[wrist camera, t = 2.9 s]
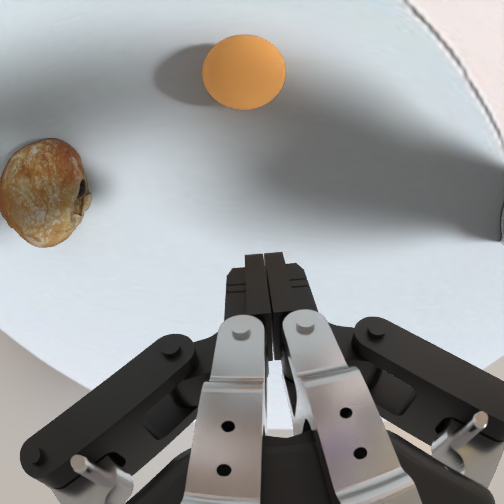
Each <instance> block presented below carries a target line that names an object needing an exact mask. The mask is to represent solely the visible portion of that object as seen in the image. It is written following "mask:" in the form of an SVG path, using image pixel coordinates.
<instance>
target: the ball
mask: <svg viewBox="0 0 504 504" xmlns="http://www.w3.org/2000/svg"><path fill="white" fill-rule="evenodd" d="M202 77H203V82H204V85H205V87H206V89H207V91H208V92H209V94H210V95H211V96H212V97H213V98H214V99H215V100H216V101H217V102H219V103H220V104H222V105H224V106H226V107H229V108H232V109H237V110H250V109H255V108H259V107H261V106H263V105H265V104H267V103H269V102H270V101H271V100H273V99H274V98H275V97H276V96H277V95H278V93H279V92H280V90H281V89H282V87H283V85H284V82H285V77H286V67H285V62H284V59H283V57H282V55H281V54H280V52H279V51H278V49H277V48H276V47H275V46H274V45H273V44H271V43H270V42H268V41H267V40H265V39H263V38H260V37H257V36H253V35H235V36H232V37H228V38H226V39H224V40H222V41H220V42H219V43H217V44H216V45H215V46H214V47H213V48H212V49H211V50H210V51H209V53H208V54H207V56H206V58H205V60H204V63H203V68H202Z"/></svg>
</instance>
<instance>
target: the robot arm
mask: <svg viewBox="0 0 504 504" xmlns="http://www.w3.org/2000/svg"><path fill="white" fill-rule="evenodd" d="M501 231H502V238H501V244H503V245H504V207H503V212H502V217H501ZM264 264H265V266H264ZM272 344H273V352H274V360H281V363H282V379H283V383H284V388H285V392H286V396H287V400H288V405H289V409H290V413H291V417H292V422H293V432H294V436H293V437H289V438H280V437H272V436H267V377H268V374H269V367H268V361H273V354H272ZM385 371H386V372H385ZM390 374H391V375H390ZM397 378H398V379H397ZM404 382H405V383H404ZM409 385H410V386H409ZM380 416H381V417H383V418H384V419H386V420H387V421H389V422H391V423H393V424H394V425H396V426H397V427H399V428H401V429H402V430H404V431H406V432H407V433H409V434H411V435H413V436H414V437H416V438H418V439H419V440H421V441H423V442H425V443H426V444H428V445H430V446H432V447H431V451H432V455H431V456H430V455H429V454H427V453H425V452H424V451H422V450H421V449H419V448H417V447H416V446H414V445H413V444H411V443H409V442H408V441H406V440H405V439H403V438H402V437H400V436H398V435H397V434H395V433H393V432H391V431H389V430H386V429H385V426H384V424H383V421H382V419H381V417H380ZM195 419H196V425H195V431H194V436H193V442H192V448H190V449H188V450H186V451H184V452H183V453H181V454H179V455H178V456H177V457H175V458H174V459H173V460H172V461H171V462H170V463H169V464H168V465H167V466H166V467H165V468H164V469H162V470H161V471H160V472H159V473H158V474H157V475H156V476H155V477H154V478H153V479H152V480H151V481H150V482H149V483H148V484H147V485H145V486H144V487H143V488H142V489H141V490H140V491H139V492H138V493H137V494H135V496H133V497H132V498H131V499H130V500H129V501H127V502H126V503H125V501H126V500H127V499H128V498H129V497H130V495H131V494H132V491H133V480H132V477H131V476H132V475H134V474H135V473H136V472H137V471H138V470H140V469H141V468H142V467H143V466H144V465H146V464H147V463H148V462H149V461H150V460H151V459H152V458H153V457H155V456H156V455H157V454H158V453H159V452H160V451H162V450H163V449H164V448H165V447H166V446H167V445H168V444H169V443H170V442H171V441H172V440H174V439H175V438H176V437H177V436H178V435H179V434H180V433H181V432H182V431H183V430H184V429H185V428H186V427H188V426H189V425H190V424H191V423H192V422H193V421H194V420H195ZM503 451H504V381H502V380H500V379H499V378H497V377H495V376H493V375H491V374H489V373H487V372H485V371H483V370H481V369H479V368H478V367H476V366H474V365H472V364H470V363H468V362H466V361H464V360H462V359H460V358H458V357H457V356H455V355H453V354H451V353H449V352H447V351H445V350H443V349H441V348H439V347H437V346H436V345H434V344H432V343H430V342H428V341H426V340H424V339H422V338H420V337H418V336H416V335H414V334H413V333H411V332H409V331H407V330H405V329H403V328H401V327H399V326H397V325H395V324H393V323H391V322H390V321H388V320H386V319H383V318H380V317H366V318H364V319H362V320H360V321H359V322H358V323H357V324H356V326H355V328H352V327H342V326H336V325H333V324H331V323H328V322H327V320H326V318H325V317H324V316H323V315H322V314H320V313H319V312H318V310H317V307H316V304H315V301H314V298H313V295H312V292H311V289H310V287H309V283H308V280H307V277H306V275H305V272H304V269H302V268H301V267H300V266H299V265H298V264H297V263H291V264H285V260H284V257H283V253H282V252H275V253H264V259H263V254H251V255H245V267H243V268H232V270H231V271H230V272H229V274H228V275H227V282H226V298H225V316H224V322H223V323H222V324H221V325H220V327H219V330H218V332H217V333H216V334H214V335H213V336H211V337H209V338H206V339H203V340H200V341H196V342H193V341H192V340H191V339H190V338H189V337H187V336H185V335H182V334H170V335H166V336H163V337H161V338H160V339H158V340H157V341H155V342H154V343H153V344H152V345H150V346H149V347H148V348H146V349H145V350H144V351H143V352H141V353H140V354H139V355H138V356H136V357H135V358H134V359H132V360H131V361H130V362H128V363H127V364H126V365H125V366H123V367H122V368H121V369H119V370H118V371H117V372H116V373H114V374H113V375H112V376H110V377H109V378H108V379H107V380H105V381H104V382H103V383H101V384H100V385H99V386H97V387H96V388H95V389H93V390H92V391H91V392H90V393H88V394H87V395H86V396H84V397H83V398H82V399H80V400H79V401H78V402H76V403H75V404H74V405H73V406H71V407H70V408H69V409H67V410H66V411H65V412H63V413H62V414H61V415H59V416H58V417H57V418H55V419H54V420H53V421H51V422H50V423H49V424H47V425H46V426H45V427H43V428H42V429H41V430H39V431H38V432H37V433H35V434H34V435H33V436H31V437H30V438H29V439H27V441H25V443H24V444H23V446H22V448H21V451H20V462H21V465H22V467H23V469H24V470H25V472H26V473H27V474H28V475H30V476H31V477H33V478H35V479H37V480H38V481H40V482H42V483H44V484H45V485H46V486H48V487H49V488H50V489H51V490H52V491H53V493H54V494H55V496H56V497H57V499H58V500H59V502H60V503H61V504H124V503H125V504H495V500H494V498H493V495H492V494H491V492H490V491H489V490H488V489H487V488H488V486H489V484H490V482H491V480H492V478H493V475H494V473H495V471H496V468H497V466H498V463H499V461H500V459H501V456H502V453H503Z"/></svg>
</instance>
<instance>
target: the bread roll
mask: <svg viewBox="0 0 504 504" xmlns="http://www.w3.org/2000/svg"><path fill="white" fill-rule="evenodd" d="M90 203H91V194H90V193H89V192H88V189H87V180H86V176H85V173H84V169H83V166H82V162H81V158H80V156H79V154H78V153H77V152H76V150H75V149H74V148H73V147H72V146H70V145H69V144H68V143H66V142H64V141H62V140H59V139H56V138H49V139H45V140H41V141H39V142H36V143H32V144H30V145H28V146H26V147H23V148H22V149H20V150H19V151H17V152H16V153H14V154H13V155H12V157H11V158H10V159H9V161H8V163H7V165H6V167H5V169H4V171H3V174H2V176H1V180H0V212H1V214H2V216H3V217H4V219H5V220H6V221H7V223H8V225H9V226H10V227H11V228H14V230H15V231H16V232H17V233H18V234H19V235H20V236H21V237H22V238H23V239H24V240H26V241H27V242H28V243H30V244H31V245H33V246H36V247H40V248H46V247H52V246H55V245H57V244H59V243H61V242H63V241H64V240H66V239H67V238H68V237H69V236H70V235H71V234H72V232H73V231H74V230H75V229H76V227H77V226H78V225H79V224H80V223H81V221H82V218H83V216H84V211H85V210H87V209H88V208H89V206H90Z"/></svg>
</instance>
